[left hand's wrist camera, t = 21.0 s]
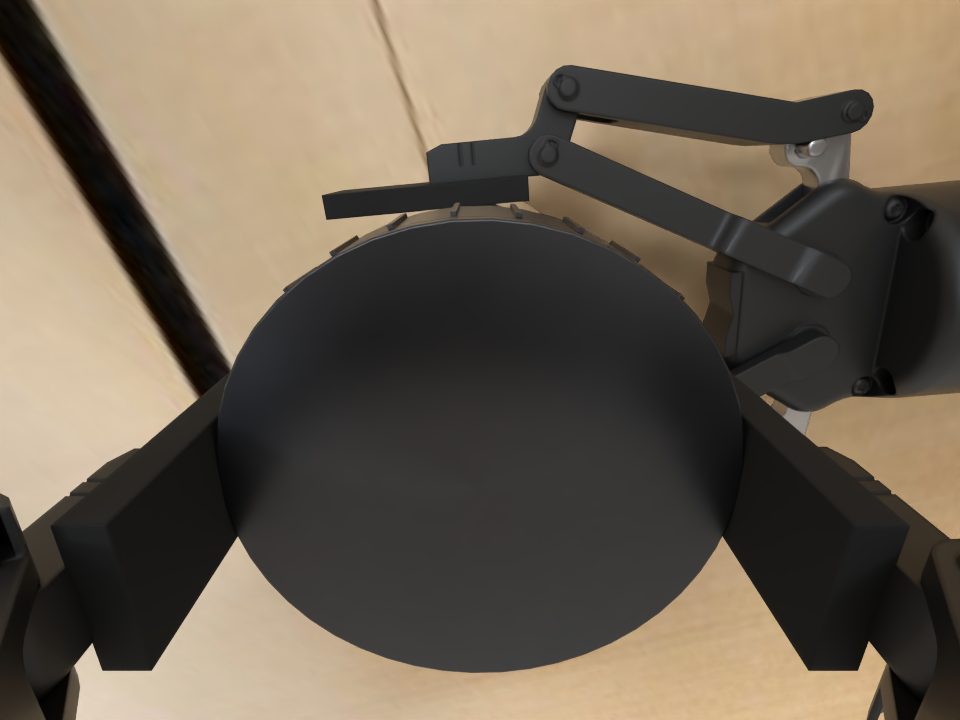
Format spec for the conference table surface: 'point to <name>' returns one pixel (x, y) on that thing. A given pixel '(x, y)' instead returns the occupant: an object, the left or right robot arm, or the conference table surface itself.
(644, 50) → the conference table surface
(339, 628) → the lid
